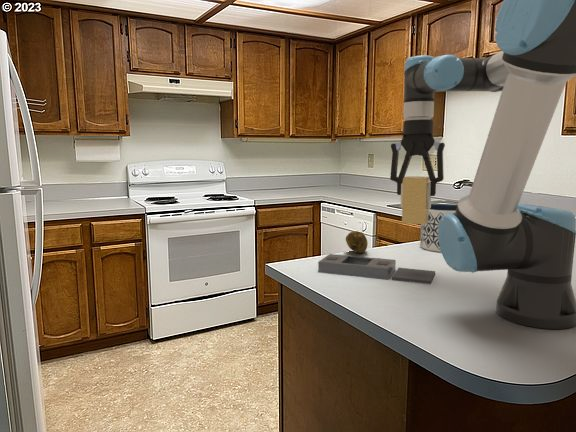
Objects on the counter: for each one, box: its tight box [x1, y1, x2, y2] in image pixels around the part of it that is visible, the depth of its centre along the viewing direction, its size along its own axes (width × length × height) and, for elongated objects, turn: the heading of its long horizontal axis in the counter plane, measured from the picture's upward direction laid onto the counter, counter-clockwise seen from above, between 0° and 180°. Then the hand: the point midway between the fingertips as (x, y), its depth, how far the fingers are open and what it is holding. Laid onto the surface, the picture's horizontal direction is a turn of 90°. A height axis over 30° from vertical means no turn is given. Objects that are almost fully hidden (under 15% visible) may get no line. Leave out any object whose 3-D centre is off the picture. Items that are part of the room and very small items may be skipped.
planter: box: [419, 203, 458, 253], centre depth 155 cm, size 16×16×14 cm
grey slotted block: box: [317, 253, 397, 280], centre depth 129 cm, size 20×10×3 cm, turn 65°
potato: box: [345, 230, 369, 254], centre depth 150 cm, size 8×13×8 cm, turn 155°
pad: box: [391, 267, 436, 285], centre depth 123 cm, size 10×10×1 cm
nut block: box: [401, 175, 430, 225], centre depth 120 cm, size 6×6×12 cm
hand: (415, 207), depth 120 cm, fingers closed on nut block, 6 cm apart
